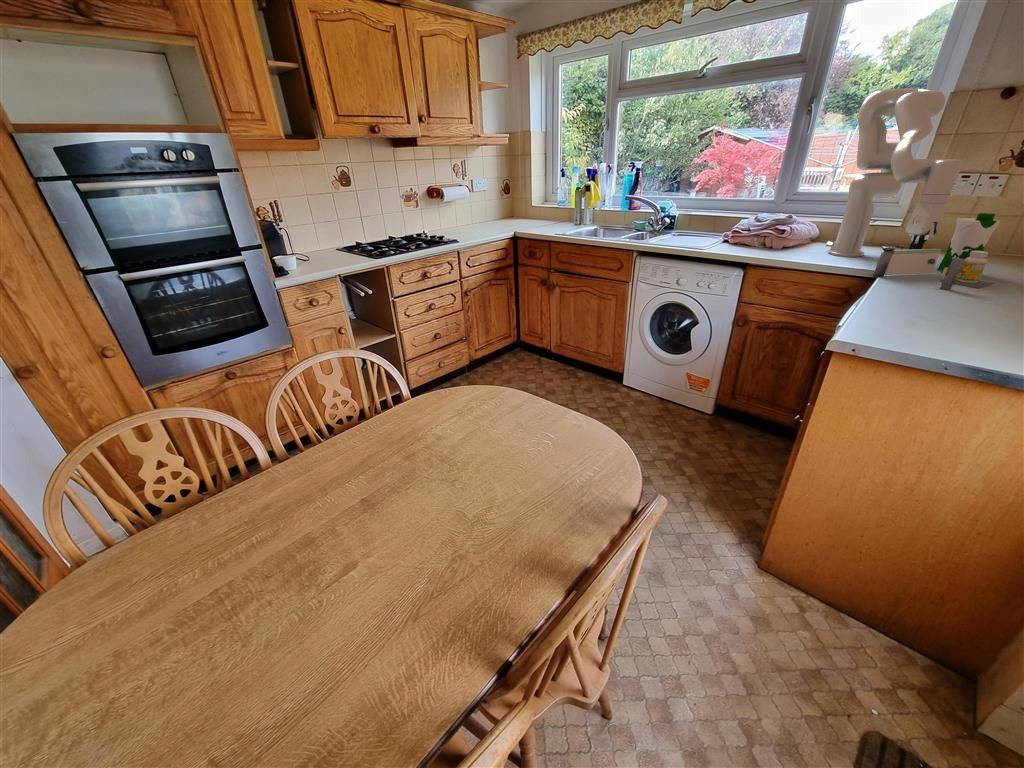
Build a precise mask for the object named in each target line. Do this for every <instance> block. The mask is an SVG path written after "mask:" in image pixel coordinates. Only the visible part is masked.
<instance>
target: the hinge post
mask: <svg viewBox="0 0 1024 768" xmlns="http://www.w3.org/2000/svg"><path fill="white" fill-rule="evenodd" d="M881 249H882V250H881V253H880V256H879V258H878V262H877V264H876V267H875V270H874V272H873V277H875V278H884V277H885V276H886V275H885V272H886V269H887V267H888V264H889V261H890V259H891V256H892V253H893V251H894V250H897V247H896V246H890V245H883V246H881Z"/></svg>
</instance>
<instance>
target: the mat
mask: <svg viewBox="0 0 1024 768" xmlns="http://www.w3.org/2000/svg"><path fill="white" fill-rule="evenodd" d="M956 278H957V277H956ZM943 280H944V279H941V280H940V282H943ZM957 284H958V285H957ZM995 284H996V282H991V281H986V280H981V279H979V280H978V282H977V283H965V282H960V281H957V280H956V279H955V281H954V283H953V285H957V286H964V287H968V288H973V289H974V288H975V289H980V288H984V287H989V286H992V285H995Z"/></svg>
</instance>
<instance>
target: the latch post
mask: <svg viewBox="0 0 1024 768" xmlns="http://www.w3.org/2000/svg"><path fill="white" fill-rule="evenodd" d="M963 261H964V259H960V258H954V259H953V260H952V262H951V264H950V267H949V268H948V267H946V268H944V271H943V272H942V273H941V276H944V279H942V280H943V282H942V283H941V285H940V288H939V289H940V290H945V291H950V290H952V287H953V285H954V284H953V283H954V281H955V279H956V277H957V275H958V272H959V270H960V268H961V266H962V264H963Z"/></svg>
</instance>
